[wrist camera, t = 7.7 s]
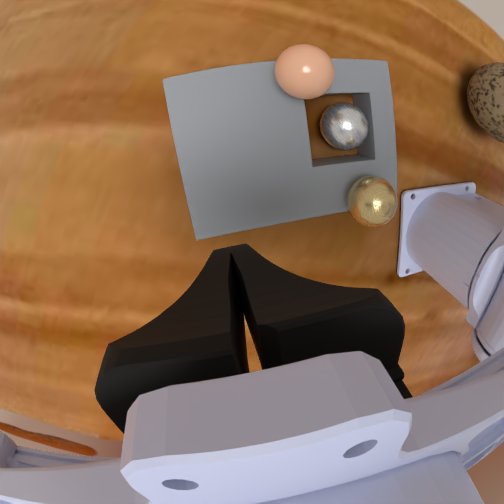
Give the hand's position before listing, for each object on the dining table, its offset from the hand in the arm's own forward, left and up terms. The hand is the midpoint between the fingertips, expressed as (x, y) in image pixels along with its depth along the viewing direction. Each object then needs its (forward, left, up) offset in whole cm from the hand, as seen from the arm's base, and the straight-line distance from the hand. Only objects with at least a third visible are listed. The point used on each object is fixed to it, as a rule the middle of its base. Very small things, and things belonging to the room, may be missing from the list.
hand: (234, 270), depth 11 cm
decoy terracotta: (-6, -8, -6) cm, 11 cm away
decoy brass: (-9, 0, -6) cm, 11 cm away
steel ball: (-9, -4, -8) cm, 13 cm away
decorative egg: (-24, -7, -10) cm, 27 cm away
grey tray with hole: (-5, -4, -10) cm, 12 cm away
